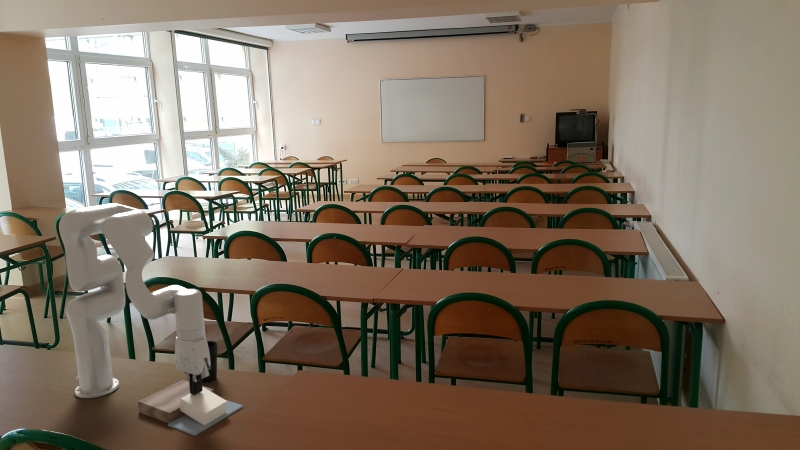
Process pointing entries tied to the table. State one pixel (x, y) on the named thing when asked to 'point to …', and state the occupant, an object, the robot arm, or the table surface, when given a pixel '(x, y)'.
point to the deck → (166, 402)
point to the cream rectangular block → (203, 406)
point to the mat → (195, 427)
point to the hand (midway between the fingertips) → (196, 392)
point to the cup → (212, 363)
